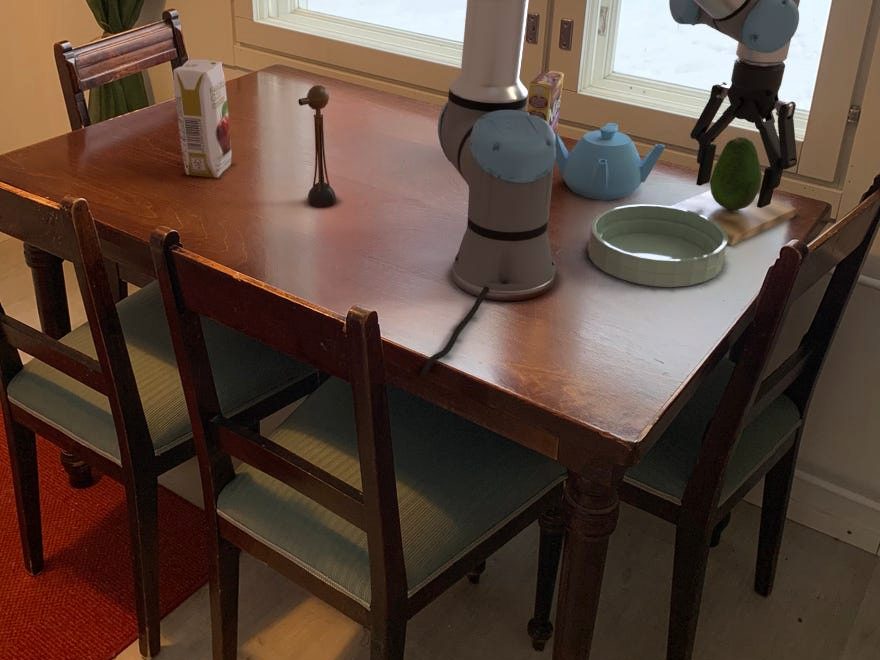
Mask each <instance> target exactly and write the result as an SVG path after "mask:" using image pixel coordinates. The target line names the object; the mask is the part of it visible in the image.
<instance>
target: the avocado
mask: <svg viewBox="0 0 880 660" xmlns="http://www.w3.org/2000/svg"><path fill="white" fill-rule="evenodd" d="M758 155H759V154H758V151H757V147H756V146H755V143H754V142H753V141H752V140H750V139H749V138H747V137H743V136H737V137H735V138H733V139H729V141H728V142H727V143H726V144H725V145H724V147H723V149H722V151H721V153H720V155H719V157H718V159H717V161H716V163H715V166H714V168H713V170H712V174H711V177H710V182H709V184H710V185H709V186H710V190H711V193H712V196H713V198H714V200H715V201H716V202H717V203H718V204H719V205H720V206H722V207H724V208H726V209H732V210H738V209H743V208H746V207H747V206H749V205H750V204H751V203H752V202H753V201H754V199H755V197H756V195H757V194H758V192H760V190H761V185H762V169H761V163H760V158H759V156H758Z"/></svg>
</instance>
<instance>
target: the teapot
mask: <svg viewBox="0 0 880 660" xmlns="http://www.w3.org/2000/svg"><path fill="white" fill-rule="evenodd" d="M618 127H619V123H617V122H616V123H615V122H607V123H606V125H603V126H601V127H599V129H597V130H591V131H588V132H586V133H585V134H584V135H583V136H581V137H580V138H579V140H578V141H577V142H576V143H575V145H574V146H573V148H572V149H571V150H570V152H569V151H568V149H567V147H566V146H565V144H564V142H563V140H562V138H561V135H560V134H557V135H555V148H556V159H555V163H556V166H557V169H558V172H559V174H561V175H562V178H563V180H564V181H563V182H564V183H565V184H566V186H567V187H568V188H569V189H570V191H572V192H573V193H575V194H576V195H578V196H581V197H583V198H587V199H592V200H603V201H609V200H610V201H612V200H619V199H623V198H626V197H629V196H630V195H631V194H632V193H634V192H635V191H636V190H637V189H639V187H640V186H641V184H642V183H645V182H646V180H647V179H648V177H649V175H650V173H651V172H652V170H653V168H654V167H655V165H656V163H657V162H658V160H659V159H660V157H661V155H662V154H663V152H664V151H665V148H666V147H665V146H666V145H665V144H660V143H655V145H653V147H652V149H651V150H650V151H649V152H648V154H646V155H645V157H644V158H643V159H641V157H640V154H639V152H638V150H637V147H636V146H635V143H634V142H633V140H632V138H631V137H630V135H627V134H626V133H623V132H620V131H618V129H619V128H618Z"/></svg>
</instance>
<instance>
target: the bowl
mask: <svg viewBox="0 0 880 660" xmlns="http://www.w3.org/2000/svg"><path fill="white" fill-rule="evenodd" d="M670 206H671V205H663V204H648V203H647V204H645V203H641V204H639V203H638V204H627V205H622V206H617V207H612V208H609V209H607V210H604V211H602V212H600V213H599V214H598V215H597V216H595V217H594V218H593V220H592V222H591V224H590V230H589V239H588V244H587V245H588V246H587V252H588V257H589V259H590V260H591V262H592V263H593V265H595V266H596V267H597V268H599V269H600V270H602V271H603V272H604V273H606V274H608V275H611V276H613V277H616V278H618V279H620V280H623V281H627V282H631V283H634V284H640V285H645V286H652V287H664V288H665V287H666V288H674V287H676V288H677V287H686V286H687V287H689V286H693V285H698V284H702V283H705V282H707V281H709V280H711V279H713V278H715V277H716V276H717V275H718V274H719V273H720V272H722V269H723V264H724V259H725V254H726V250H727V247H728V246H727V245H728V244H727V241H728V237H727V234H726V232H725V230H724V229H723V228H722V227H721V226H720V225H719V224H718V223H716V222H715V221H713V220H711V219H709V218H708V217H706V216H703V215H701V214H698V213H695V212H692V211H689V210H685V209H681V208H676V207H670Z"/></svg>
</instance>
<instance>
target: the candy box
mask: <svg viewBox="0 0 880 660" xmlns="http://www.w3.org/2000/svg"><path fill="white" fill-rule="evenodd" d="M564 75H565V74H564V72H562V71H557V70H545V69H544V70H542V71H541V73H539V74H538V75H537V76H536V77H535V78H534V79H533V80H532V81H530V84H529V91H528V100H527V109H526V112H527V113H529V114H530V116H533V115H536V116H538V117H540V118H542V119H543V120H545V121H546V122H547V123H548V124H549V125H550V126H551V128H552V129H553V131H554V134H555V135H558V128H559V127H558V126H559V119H560V118H559V117H560V110H561V100H562V93H563V86H564V85H563V84H564Z"/></svg>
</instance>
